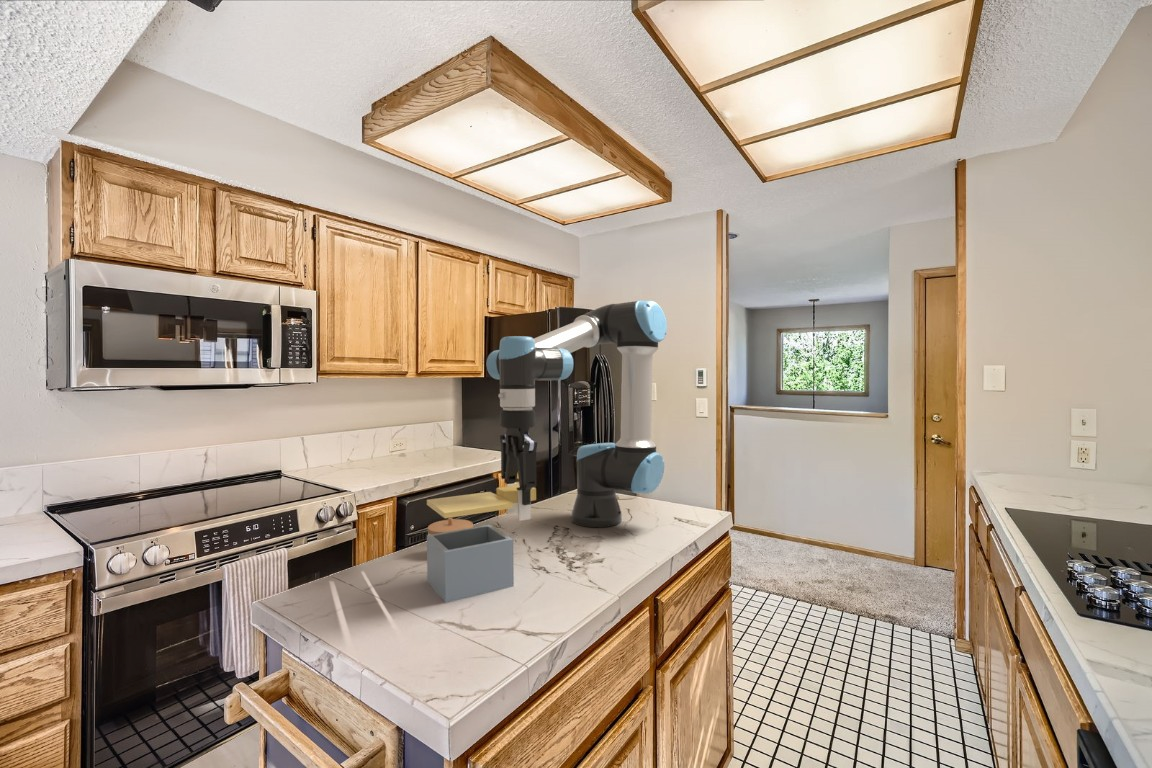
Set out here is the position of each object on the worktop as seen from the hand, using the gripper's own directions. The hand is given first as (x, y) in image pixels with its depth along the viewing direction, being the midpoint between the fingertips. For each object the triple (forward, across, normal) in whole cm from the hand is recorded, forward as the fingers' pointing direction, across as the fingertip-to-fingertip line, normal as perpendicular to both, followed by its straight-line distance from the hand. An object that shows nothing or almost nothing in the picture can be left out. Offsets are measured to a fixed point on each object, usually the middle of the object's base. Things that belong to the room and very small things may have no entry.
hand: (518, 516), depth 110 cm
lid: (-4, 0, -7) cm, 8 cm away
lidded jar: (+14, -21, -8) cm, 26 cm away
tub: (+14, 0, -11) cm, 18 cm away
